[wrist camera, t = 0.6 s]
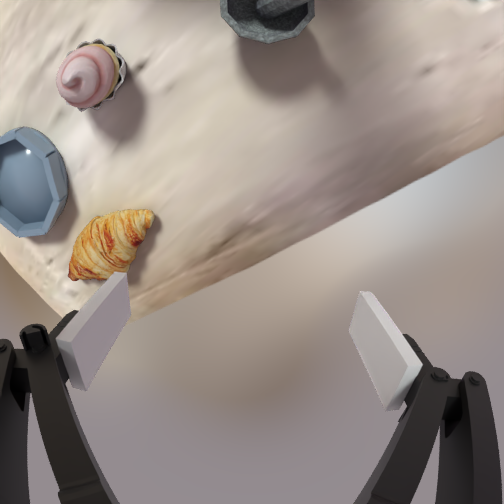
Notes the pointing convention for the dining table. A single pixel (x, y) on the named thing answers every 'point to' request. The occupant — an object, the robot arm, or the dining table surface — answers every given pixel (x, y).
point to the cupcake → (91, 75)
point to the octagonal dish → (30, 182)
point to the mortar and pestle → (267, 18)
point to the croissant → (109, 244)
